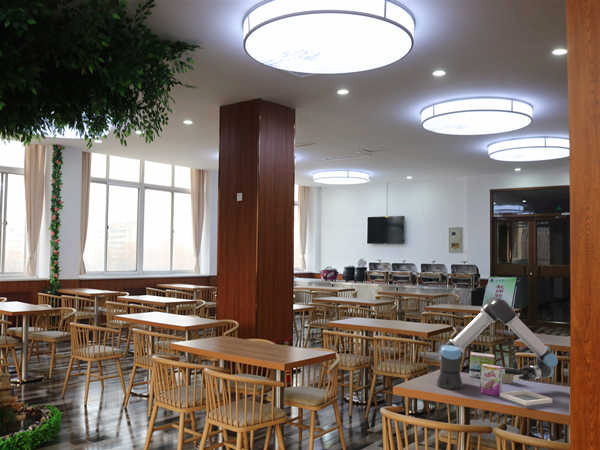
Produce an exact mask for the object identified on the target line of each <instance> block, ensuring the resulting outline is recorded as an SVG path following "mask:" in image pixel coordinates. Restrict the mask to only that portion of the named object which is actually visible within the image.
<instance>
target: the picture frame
mask: <svg viewBox="0 0 600 450" xmlns="http://www.w3.org/2000/svg"><path fill="white" fill-rule="evenodd" d="M499 400H502V401H504V402H507V403H510V404H512V405H516V406H518V407H521V408H523V409H531V408H532V409H533V408H540V407H549V406H553V398H552V397H548V396H545V395H543V394H539V393H536V392H533V391H530V390H526V389H523V390H522V389H521V390H515V391H514V390H513V391H501V393H500V397H499Z"/></svg>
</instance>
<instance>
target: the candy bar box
mask: <svg viewBox="0 0 600 450" xmlns="http://www.w3.org/2000/svg"><path fill="white" fill-rule="evenodd" d="M479 378H480V381H479V394H483V395H489V396H493V397H499V398H500V393H501V392H502V383H503V382H502V366H499V365H494V366H493V365H488V364H482V365H481V377H479Z"/></svg>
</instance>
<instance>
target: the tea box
mask: <svg viewBox="0 0 600 450" xmlns="http://www.w3.org/2000/svg"><path fill="white" fill-rule="evenodd" d="M469 360H470V361H469V377H473V378H480V377H481V365H482V364H488V365H493V366H495V354H492V353H491V354H490V353H482V352H473V351H470V358H469Z"/></svg>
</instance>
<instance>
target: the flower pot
mask: <svg viewBox="0 0 600 450" xmlns="http://www.w3.org/2000/svg"><path fill="white" fill-rule="evenodd" d="M501 367H502V366H501ZM502 368H506V369H514V368H513V367H508V366H507V367H506V366H505V367H504V366H503V367H502ZM514 375H515V374H504V375H503V374H502V383H504V384H510V385H512V384H513V381H514Z"/></svg>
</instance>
